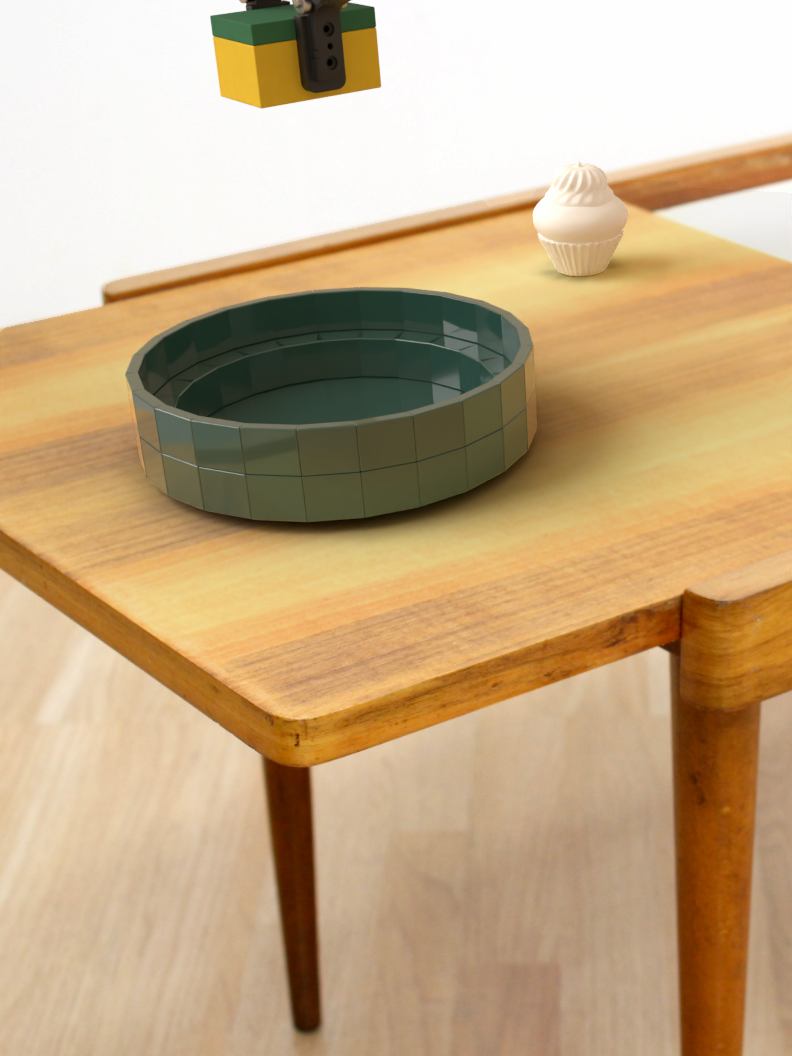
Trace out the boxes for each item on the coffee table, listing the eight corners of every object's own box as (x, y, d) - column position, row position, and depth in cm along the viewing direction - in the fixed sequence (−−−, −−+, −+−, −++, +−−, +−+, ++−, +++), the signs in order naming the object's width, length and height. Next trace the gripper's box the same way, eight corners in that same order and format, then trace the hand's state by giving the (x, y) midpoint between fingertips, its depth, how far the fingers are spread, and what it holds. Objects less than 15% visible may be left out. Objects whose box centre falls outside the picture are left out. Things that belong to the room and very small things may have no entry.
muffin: (517, 277, 99) (511, 168, 96) (560, 251, 104) (557, 146, 101) (604, 288, 97) (601, 176, 94) (644, 260, 102) (643, 153, 98)
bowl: (251, 576, 65) (235, 467, 62) (84, 437, 79) (66, 343, 76) (614, 454, 74) (613, 356, 72) (408, 349, 88) (400, 264, 86)
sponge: (260, 109, 77) (250, 24, 75) (220, 96, 80) (209, 15, 78) (382, 87, 80) (374, 6, 78) (338, 76, 83) (330, -2, 82)
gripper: (120, -285, 75) (173, 76, 83) (258, -299, 65) (303, 115, 73) (259, -289, 79) (297, 56, 87) (409, -303, 69) (437, 91, 76)
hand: (300, 81), depth 80 cm, fingers closed on sponge, 4 cm apart
